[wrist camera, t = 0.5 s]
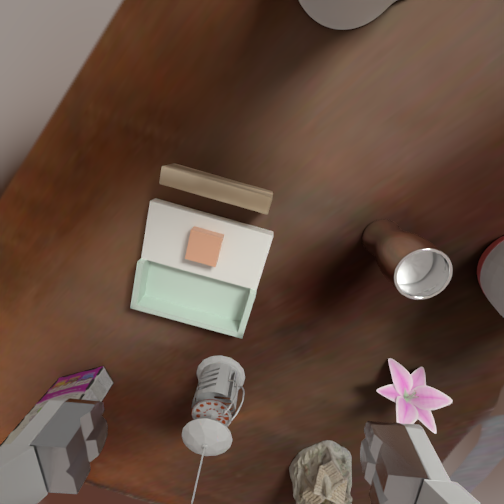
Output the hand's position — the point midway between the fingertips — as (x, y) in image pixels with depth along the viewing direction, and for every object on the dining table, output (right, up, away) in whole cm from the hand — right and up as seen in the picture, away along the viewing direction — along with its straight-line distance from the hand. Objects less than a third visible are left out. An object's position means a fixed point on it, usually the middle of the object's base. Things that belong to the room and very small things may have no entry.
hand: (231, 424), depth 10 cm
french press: (-5, -19, +52) cm, 56 cm away
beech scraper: (-4, +16, +39) cm, 43 cm away
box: (-9, -2, +46) cm, 47 cm away
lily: (+29, -19, +50) cm, 61 cm away
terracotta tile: (-7, +7, +40) cm, 41 cm away
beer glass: (+22, +8, +41) cm, 47 cm away
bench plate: (-7, +7, +43) cm, 44 cm away
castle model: (+17, -44, +60) cm, 76 cm away
